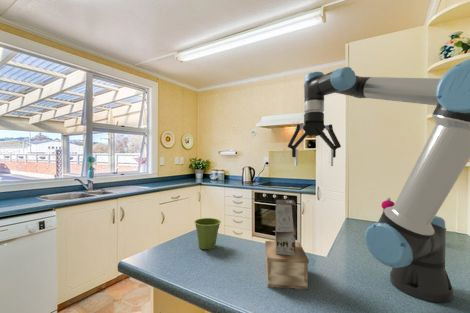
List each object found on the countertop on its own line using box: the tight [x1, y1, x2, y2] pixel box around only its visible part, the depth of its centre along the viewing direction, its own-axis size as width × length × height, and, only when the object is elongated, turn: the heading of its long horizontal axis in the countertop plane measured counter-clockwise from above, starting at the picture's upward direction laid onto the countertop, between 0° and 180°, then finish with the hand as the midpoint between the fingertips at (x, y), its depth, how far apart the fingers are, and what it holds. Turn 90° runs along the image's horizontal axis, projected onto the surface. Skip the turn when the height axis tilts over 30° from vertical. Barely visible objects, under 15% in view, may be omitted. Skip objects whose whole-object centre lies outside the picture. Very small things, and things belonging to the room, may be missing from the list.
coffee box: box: [274, 199, 297, 256], centre depth 77 cm, size 9×6×16 cm
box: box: [265, 254, 309, 290], centre depth 77 cm, size 12×14×8 cm
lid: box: [264, 240, 310, 265], centre depth 77 cm, size 12×14×1 cm
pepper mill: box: [381, 197, 395, 212], centre depth 117 cm, size 7×7×20 cm
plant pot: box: [193, 217, 222, 250], centre depth 101 cm, size 12×12×11 cm
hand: (313, 165), depth 91 cm, fingers open, 13 cm apart
